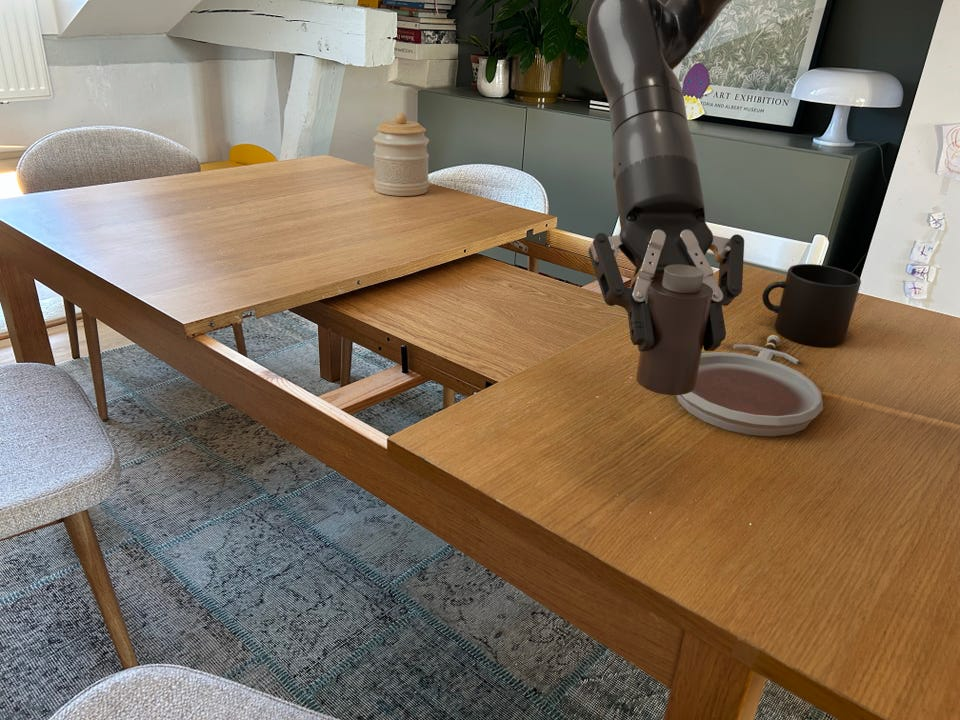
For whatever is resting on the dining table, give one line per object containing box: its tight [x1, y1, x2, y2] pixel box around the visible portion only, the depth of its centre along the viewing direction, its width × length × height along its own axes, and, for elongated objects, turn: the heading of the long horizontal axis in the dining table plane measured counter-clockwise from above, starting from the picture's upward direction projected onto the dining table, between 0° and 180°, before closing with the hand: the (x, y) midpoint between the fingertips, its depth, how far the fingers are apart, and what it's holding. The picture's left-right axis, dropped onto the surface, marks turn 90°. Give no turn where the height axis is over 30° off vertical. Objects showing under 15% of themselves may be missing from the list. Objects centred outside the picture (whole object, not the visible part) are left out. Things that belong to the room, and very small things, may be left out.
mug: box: [762, 263, 862, 348], centre depth 104 cm, size 9×12×9 cm
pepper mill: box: [635, 264, 713, 396], centre depth 63 cm, size 5×5×10 cm
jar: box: [372, 112, 430, 197], centre depth 170 cm, size 13×13×18 cm
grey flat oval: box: [675, 334, 824, 437], centre depth 90 cm, size 17×3×28 cm
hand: (680, 347), depth 62 cm, fingers closed on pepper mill, 5 cm apart
